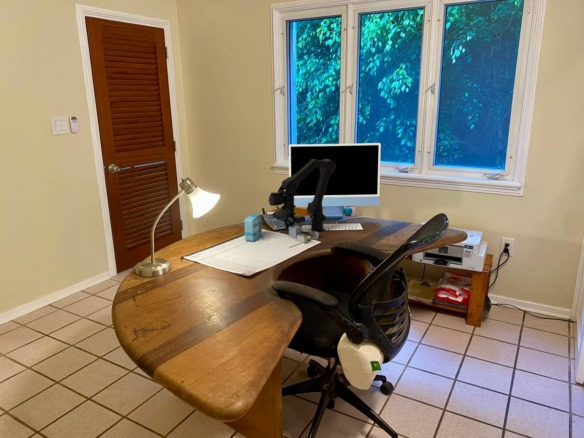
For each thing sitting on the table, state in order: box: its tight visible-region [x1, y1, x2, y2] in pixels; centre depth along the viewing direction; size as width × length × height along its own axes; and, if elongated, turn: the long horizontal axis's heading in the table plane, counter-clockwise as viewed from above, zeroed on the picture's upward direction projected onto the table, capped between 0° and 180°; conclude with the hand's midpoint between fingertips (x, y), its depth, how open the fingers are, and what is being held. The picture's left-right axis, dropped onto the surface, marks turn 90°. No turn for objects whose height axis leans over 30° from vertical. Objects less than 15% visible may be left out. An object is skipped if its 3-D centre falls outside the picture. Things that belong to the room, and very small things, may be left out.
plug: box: [288, 224, 312, 241], centre depth 224 cm, size 4×13×6 cm, turn 47°
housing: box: [296, 229, 320, 245], centre depth 221 cm, size 12×5×4 cm, turn 138°
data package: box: [244, 213, 263, 242], centre depth 224 cm, size 12×4×12 cm, turn 162°
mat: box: [269, 236, 303, 249], centre depth 218 cm, size 9×14×1 cm, turn 48°
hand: (288, 232), depth 230 cm, fingers closed
